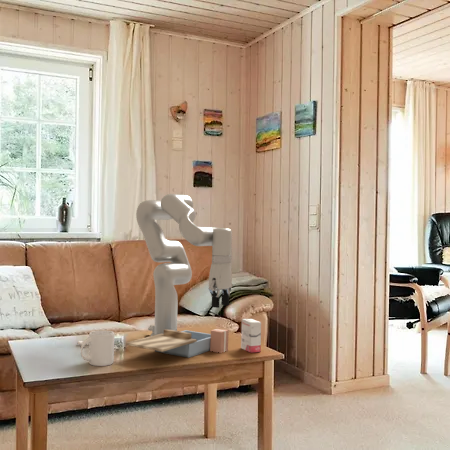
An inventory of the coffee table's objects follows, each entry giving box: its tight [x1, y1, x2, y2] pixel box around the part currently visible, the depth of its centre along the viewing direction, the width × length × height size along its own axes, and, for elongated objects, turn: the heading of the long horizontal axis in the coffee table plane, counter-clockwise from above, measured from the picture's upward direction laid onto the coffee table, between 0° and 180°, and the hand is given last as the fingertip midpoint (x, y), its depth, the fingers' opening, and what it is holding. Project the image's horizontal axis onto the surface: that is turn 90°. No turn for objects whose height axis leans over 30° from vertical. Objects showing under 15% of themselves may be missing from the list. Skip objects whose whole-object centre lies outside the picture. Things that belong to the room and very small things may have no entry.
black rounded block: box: [77, 335, 89, 349], centre depth 231 cm, size 9×8×4 cm
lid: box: [125, 329, 197, 353], centre depth 214 cm, size 17×21×3 cm
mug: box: [80, 329, 115, 367], centre depth 203 cm, size 9×12×11 cm
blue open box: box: [154, 329, 211, 358], centre depth 228 cm, size 16×20×5 cm
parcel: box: [210, 328, 230, 354], centre depth 227 cm, size 5×5×8 cm
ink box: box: [240, 318, 262, 354], centre depth 230 cm, size 9×5×12 cm, turn 24°
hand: (220, 305), depth 227 cm, fingers open, 6 cm apart
